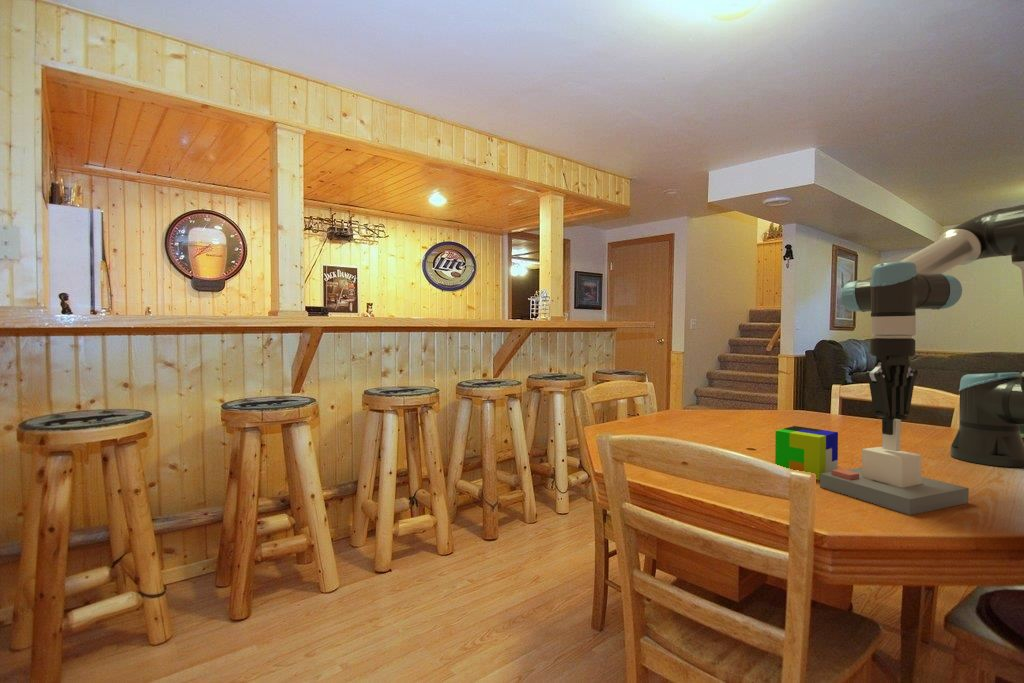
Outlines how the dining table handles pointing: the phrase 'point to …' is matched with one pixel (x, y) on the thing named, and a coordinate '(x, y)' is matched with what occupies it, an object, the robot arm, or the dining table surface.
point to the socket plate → (895, 492)
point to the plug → (891, 467)
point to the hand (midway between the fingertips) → (891, 449)
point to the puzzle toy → (807, 449)
